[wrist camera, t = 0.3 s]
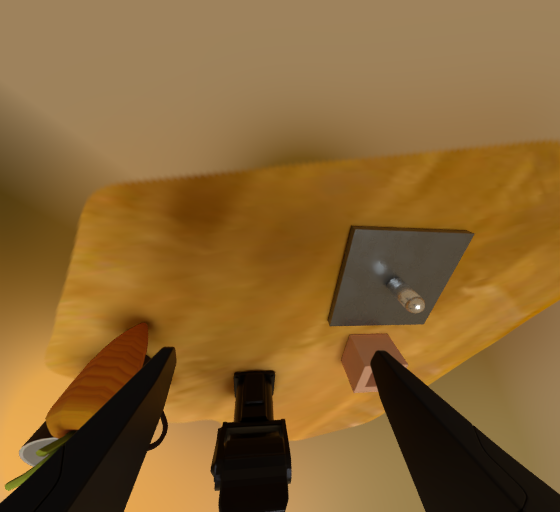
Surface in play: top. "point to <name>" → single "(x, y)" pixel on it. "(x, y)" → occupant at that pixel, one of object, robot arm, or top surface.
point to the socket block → (366, 359)
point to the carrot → (92, 390)
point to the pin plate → (394, 274)
